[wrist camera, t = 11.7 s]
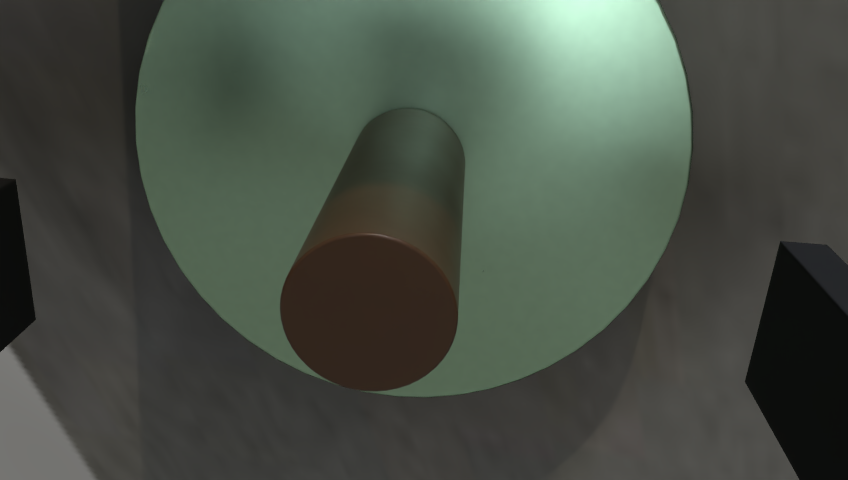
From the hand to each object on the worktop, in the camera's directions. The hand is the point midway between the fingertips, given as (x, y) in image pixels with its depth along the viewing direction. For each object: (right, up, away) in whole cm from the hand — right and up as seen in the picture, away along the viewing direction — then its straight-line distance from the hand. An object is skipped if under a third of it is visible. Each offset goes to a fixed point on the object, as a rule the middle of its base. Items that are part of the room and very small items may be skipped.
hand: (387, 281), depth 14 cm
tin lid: (0, +3, +6) cm, 7 cm away
